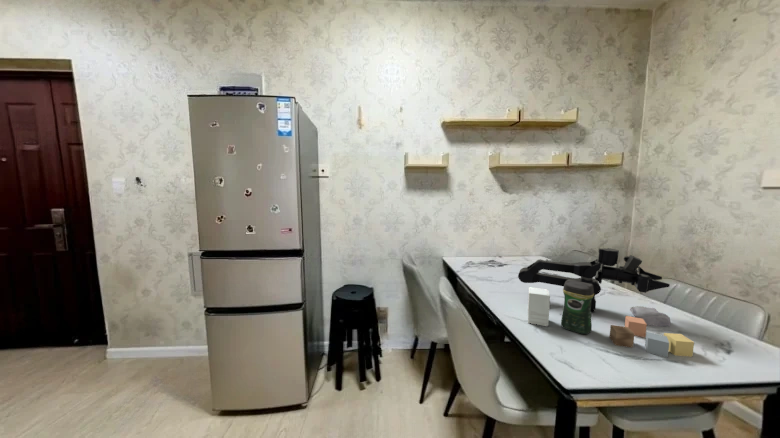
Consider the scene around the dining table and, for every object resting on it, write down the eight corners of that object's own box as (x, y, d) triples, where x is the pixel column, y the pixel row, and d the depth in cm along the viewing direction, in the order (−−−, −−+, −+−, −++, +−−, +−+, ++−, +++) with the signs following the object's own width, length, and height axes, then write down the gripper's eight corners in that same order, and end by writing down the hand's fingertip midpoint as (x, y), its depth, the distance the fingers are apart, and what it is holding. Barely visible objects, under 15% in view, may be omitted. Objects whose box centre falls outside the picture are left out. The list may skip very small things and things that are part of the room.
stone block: (644, 329, 113) (674, 327, 110) (642, 317, 112) (672, 315, 110) (625, 317, 124) (652, 314, 122) (624, 306, 124) (651, 303, 122)
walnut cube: (615, 345, 98) (616, 331, 98) (609, 338, 103) (610, 324, 102) (632, 348, 97) (634, 334, 96) (626, 340, 102) (627, 327, 101)
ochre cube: (674, 355, 92) (676, 341, 92) (662, 346, 97) (664, 332, 97) (692, 356, 92) (694, 342, 91) (679, 348, 97) (680, 334, 96)
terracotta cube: (627, 334, 106) (629, 321, 105) (624, 328, 110) (625, 315, 109) (645, 337, 103) (646, 324, 103) (641, 331, 108) (642, 318, 107)
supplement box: (547, 319, 118) (549, 289, 116) (548, 327, 111) (550, 295, 109) (527, 315, 121) (528, 286, 119) (527, 323, 114) (528, 292, 112)
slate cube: (646, 352, 94) (648, 338, 94) (644, 345, 98) (646, 331, 98) (667, 357, 91) (669, 343, 91) (664, 350, 95) (666, 336, 95)
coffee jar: (593, 329, 109) (597, 282, 107) (587, 337, 103) (592, 287, 101) (564, 321, 116) (567, 276, 114) (558, 327, 110) (561, 281, 108)
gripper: (622, 261, 111) (677, 268, 104) (614, 250, 127) (661, 256, 120) (618, 288, 113) (672, 297, 105) (611, 274, 129) (657, 281, 121)
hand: (665, 281), depth 113 cm, fingers open, 9 cm apart
